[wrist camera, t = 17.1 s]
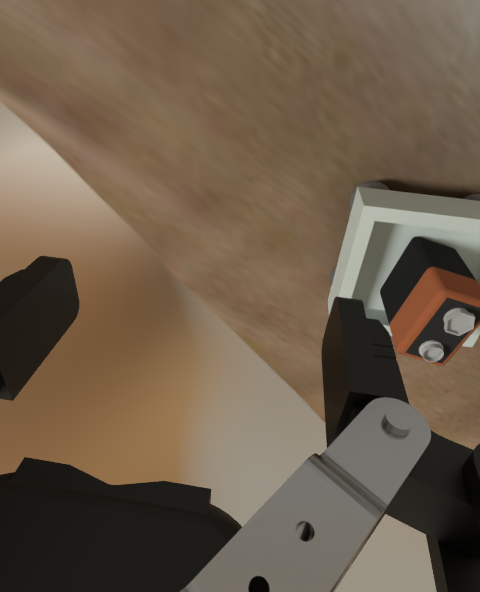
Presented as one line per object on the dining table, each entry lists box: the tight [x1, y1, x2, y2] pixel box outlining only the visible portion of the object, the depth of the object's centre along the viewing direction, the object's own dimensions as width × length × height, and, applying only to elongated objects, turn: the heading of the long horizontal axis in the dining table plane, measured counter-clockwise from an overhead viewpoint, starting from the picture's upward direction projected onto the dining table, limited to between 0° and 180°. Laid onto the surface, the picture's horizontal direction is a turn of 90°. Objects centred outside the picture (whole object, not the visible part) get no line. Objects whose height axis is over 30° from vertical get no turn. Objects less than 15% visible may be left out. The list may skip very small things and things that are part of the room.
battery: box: [380, 237, 480, 366], centre depth 33 cm, size 4×7×10 cm, turn 164°
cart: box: [328, 181, 480, 347], centre depth 38 cm, size 14×13×8 cm
